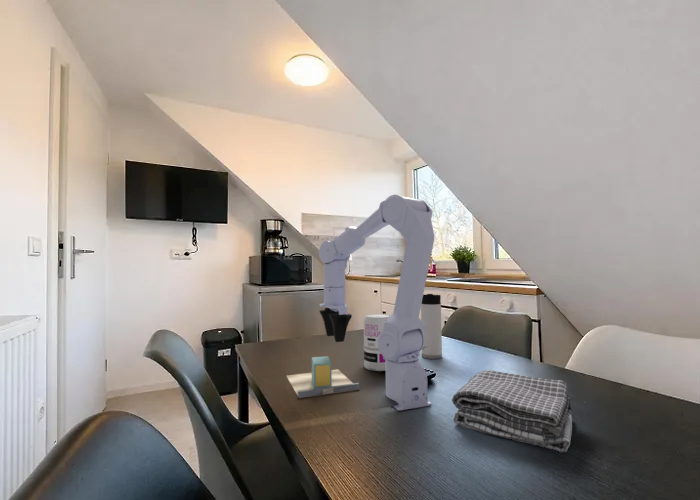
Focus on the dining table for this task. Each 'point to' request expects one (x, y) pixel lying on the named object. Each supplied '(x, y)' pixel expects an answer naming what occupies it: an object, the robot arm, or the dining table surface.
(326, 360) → the carton
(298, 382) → the shelf board
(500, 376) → the towel
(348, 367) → the dining table surface
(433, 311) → the travel mug
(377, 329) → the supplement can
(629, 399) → the dining table surface
